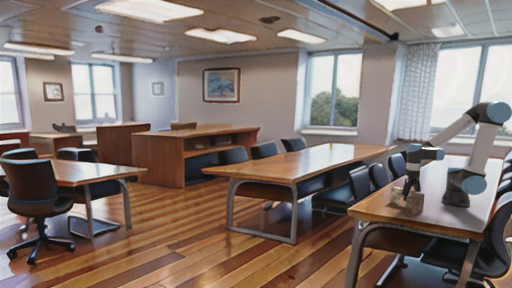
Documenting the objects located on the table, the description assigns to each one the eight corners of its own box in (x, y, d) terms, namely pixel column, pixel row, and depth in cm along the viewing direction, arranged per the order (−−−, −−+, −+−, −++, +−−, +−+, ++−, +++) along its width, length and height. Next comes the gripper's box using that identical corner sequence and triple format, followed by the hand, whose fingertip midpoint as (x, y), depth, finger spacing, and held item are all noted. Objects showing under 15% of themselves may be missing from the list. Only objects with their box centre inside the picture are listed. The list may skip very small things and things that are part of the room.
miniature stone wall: (417, 209, 178) (419, 192, 176) (423, 210, 175) (424, 194, 174) (405, 215, 168) (406, 197, 166) (410, 216, 165) (412, 199, 164)
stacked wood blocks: (390, 202, 190) (391, 187, 189) (392, 201, 192) (393, 186, 191) (413, 208, 179) (414, 192, 178) (415, 207, 181) (416, 191, 180)
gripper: (415, 166, 190) (413, 198, 193) (396, 171, 174) (394, 206, 177) (428, 168, 184) (425, 201, 187) (410, 173, 168) (407, 209, 171)
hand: (410, 204), depth 182 cm, fingers open, 13 cm apart
